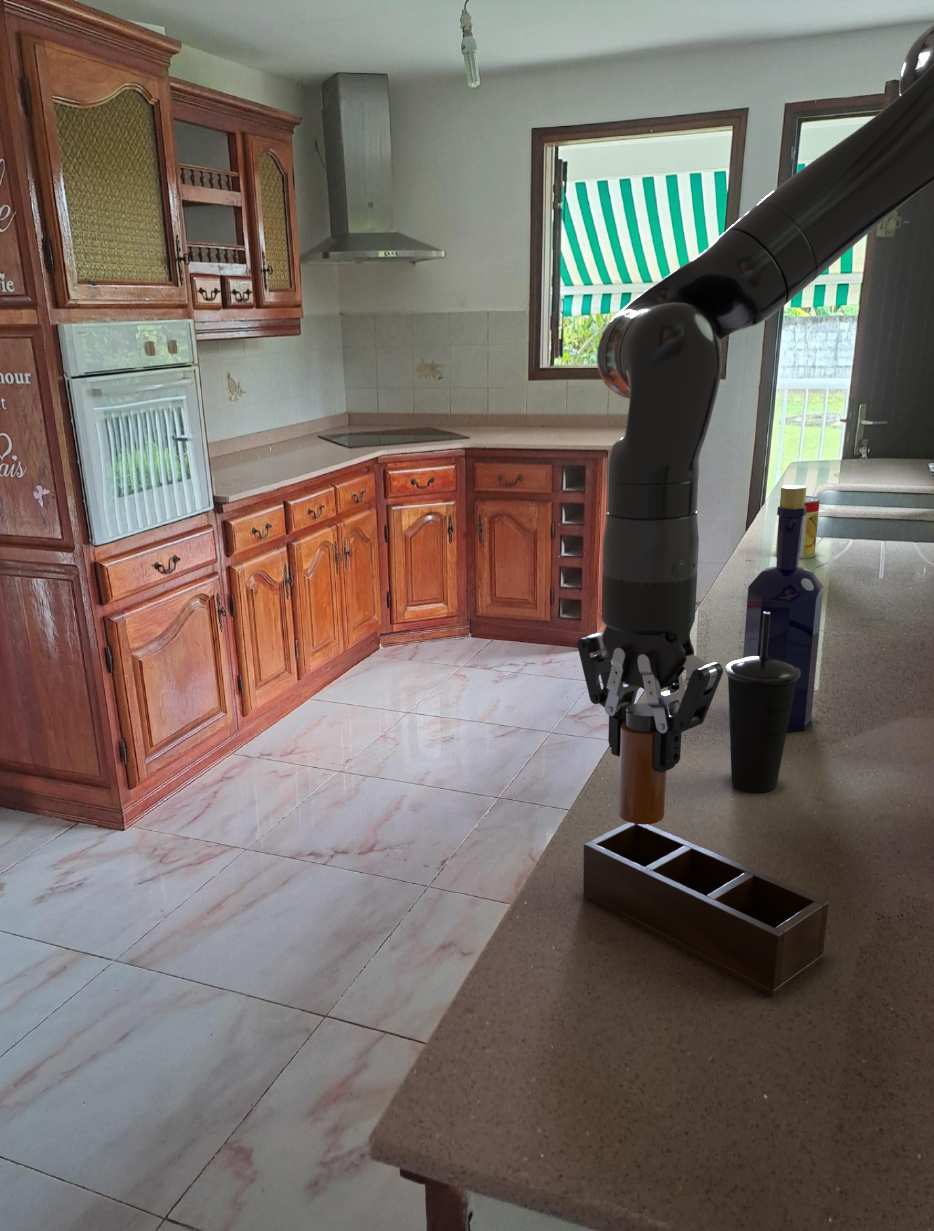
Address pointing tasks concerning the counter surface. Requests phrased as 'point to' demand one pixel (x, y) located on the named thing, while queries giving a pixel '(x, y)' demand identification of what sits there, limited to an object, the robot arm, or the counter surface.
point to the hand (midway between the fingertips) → (642, 760)
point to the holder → (707, 905)
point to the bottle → (788, 607)
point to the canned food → (808, 528)
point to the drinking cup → (759, 716)
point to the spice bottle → (639, 769)
